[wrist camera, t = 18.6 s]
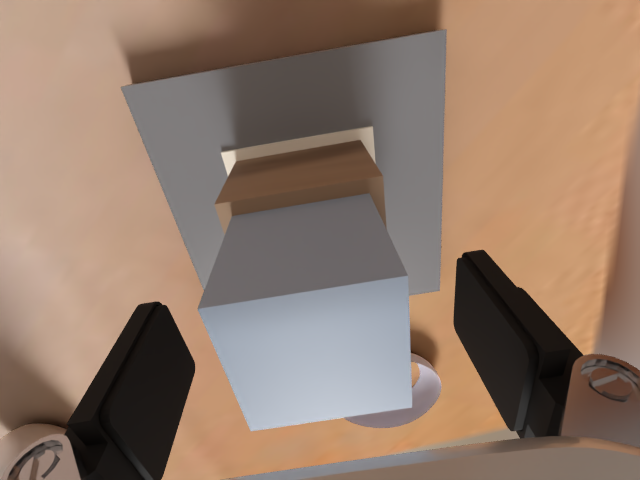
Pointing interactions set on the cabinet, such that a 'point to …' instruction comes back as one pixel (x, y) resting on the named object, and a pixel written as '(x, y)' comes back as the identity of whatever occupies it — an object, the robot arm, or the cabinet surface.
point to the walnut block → (300, 180)
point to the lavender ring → (422, 400)
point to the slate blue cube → (311, 313)
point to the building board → (306, 134)
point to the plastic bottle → (23, 441)
